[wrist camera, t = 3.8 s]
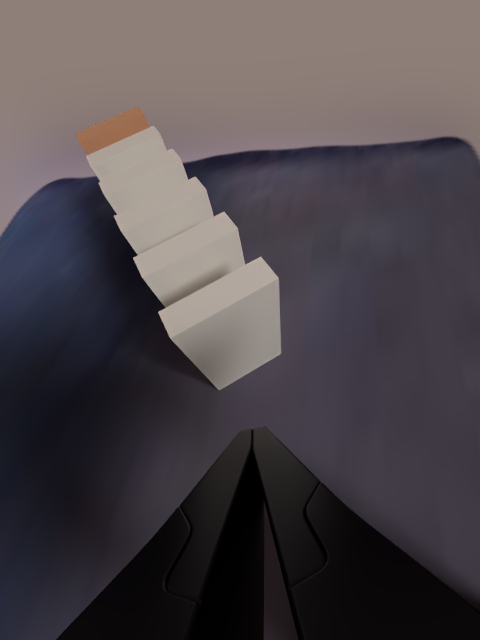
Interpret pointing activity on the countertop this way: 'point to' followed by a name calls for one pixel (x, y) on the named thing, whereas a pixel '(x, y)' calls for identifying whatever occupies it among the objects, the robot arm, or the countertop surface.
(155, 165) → the domino
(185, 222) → the domino
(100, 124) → the domino
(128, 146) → the domino
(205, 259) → the domino
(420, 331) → the countertop surface
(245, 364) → the domino
